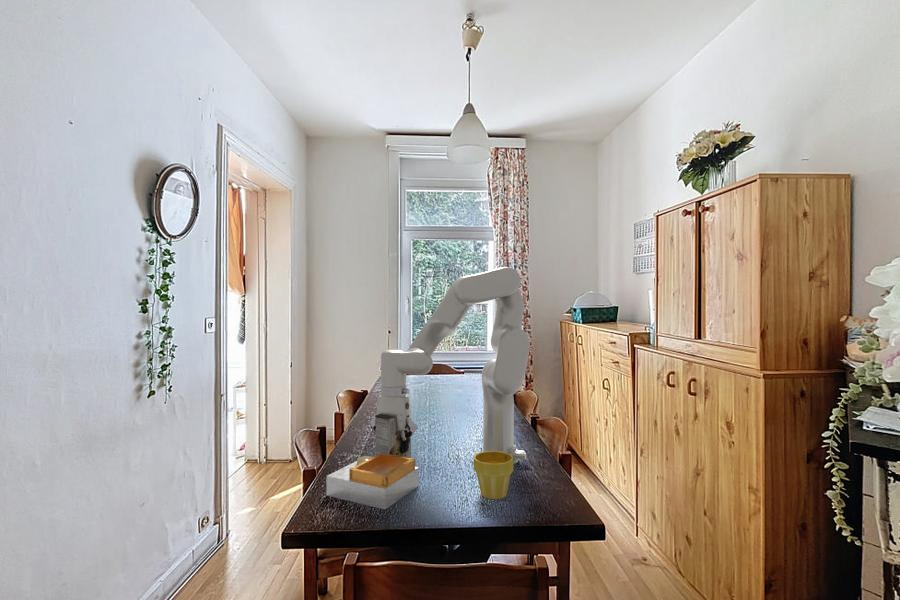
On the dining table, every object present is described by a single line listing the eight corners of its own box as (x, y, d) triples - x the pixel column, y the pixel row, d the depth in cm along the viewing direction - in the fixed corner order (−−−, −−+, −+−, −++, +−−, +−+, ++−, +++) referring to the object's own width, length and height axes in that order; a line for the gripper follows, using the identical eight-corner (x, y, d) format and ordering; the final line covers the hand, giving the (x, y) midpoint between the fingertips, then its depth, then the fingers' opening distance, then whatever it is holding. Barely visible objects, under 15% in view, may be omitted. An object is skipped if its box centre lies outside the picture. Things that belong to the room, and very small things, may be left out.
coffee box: (396, 460, 148) (396, 408, 148) (411, 465, 144) (411, 412, 144) (374, 468, 141) (374, 414, 141) (389, 473, 137) (389, 417, 137)
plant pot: (465, 494, 123) (465, 456, 123) (491, 483, 130) (491, 447, 130) (495, 506, 116) (496, 466, 115) (521, 494, 123) (521, 456, 123)
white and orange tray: (418, 485, 128) (418, 458, 128) (385, 509, 114) (385, 478, 114) (364, 474, 136) (364, 448, 136) (326, 495, 122) (326, 466, 122)
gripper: (424, 391, 142) (424, 451, 142) (376, 386, 149) (376, 442, 150) (411, 396, 135) (411, 458, 135) (362, 390, 143) (362, 449, 143)
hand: (393, 449), depth 142 cm, fingers closed on coffee box, 7 cm apart
